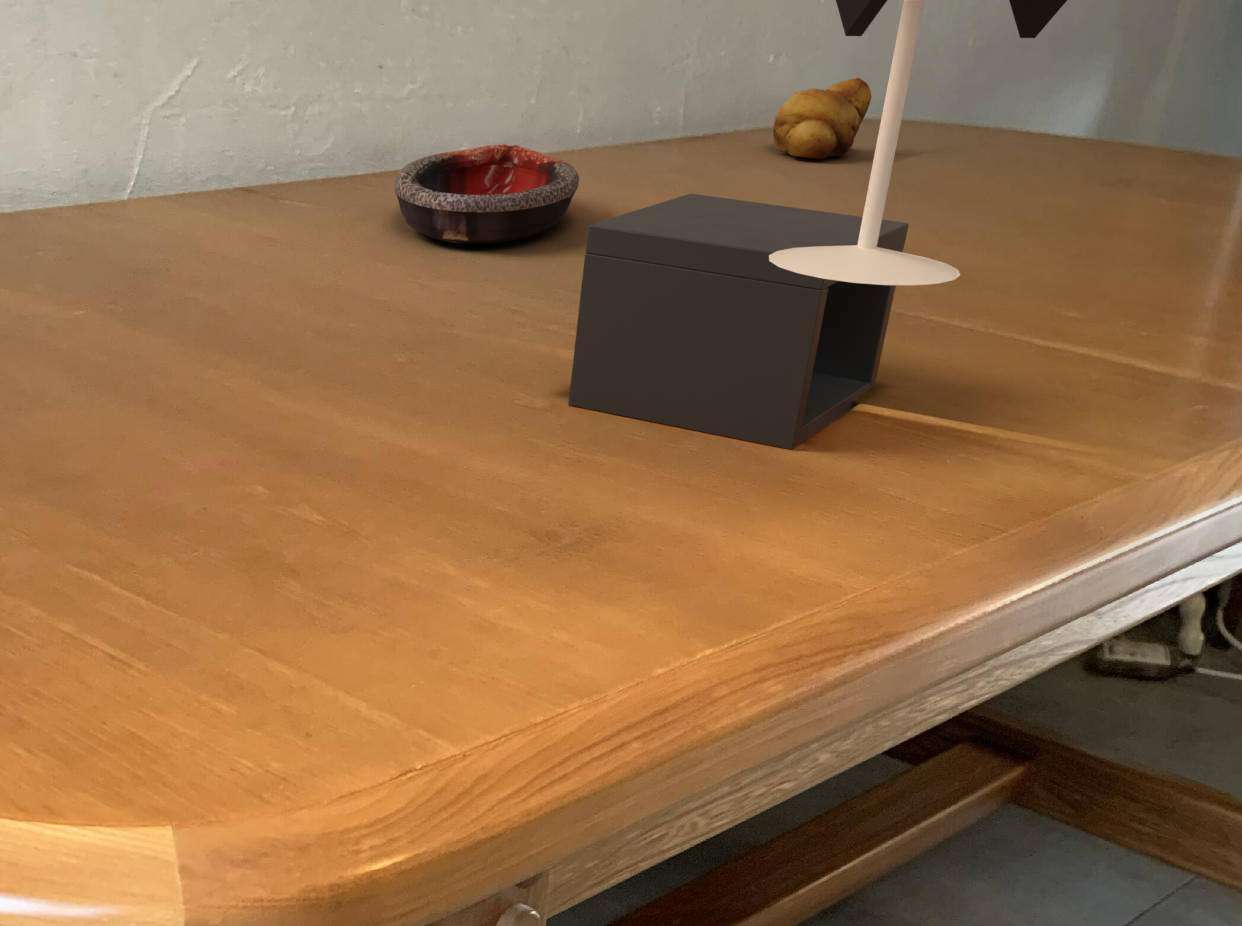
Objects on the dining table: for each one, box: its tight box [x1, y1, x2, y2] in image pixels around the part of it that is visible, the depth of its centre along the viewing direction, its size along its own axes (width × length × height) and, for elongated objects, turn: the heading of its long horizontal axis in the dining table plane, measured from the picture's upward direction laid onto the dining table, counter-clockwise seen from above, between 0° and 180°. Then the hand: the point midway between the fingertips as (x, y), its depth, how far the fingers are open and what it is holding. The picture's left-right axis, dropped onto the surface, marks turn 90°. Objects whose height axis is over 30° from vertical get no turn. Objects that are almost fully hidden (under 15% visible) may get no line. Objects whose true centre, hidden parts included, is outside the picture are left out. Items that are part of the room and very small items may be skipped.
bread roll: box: [772, 76, 872, 160], centre depth 191 cm, size 13×10×8 cm
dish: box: [393, 143, 580, 245], centre depth 148 cm, size 16×31×5 cm, turn 164°
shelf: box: [568, 193, 910, 450], centre depth 100 cm, size 14×15×10 cm
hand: (960, 12), depth 69 cm, fingers closed on wineglass, 8 cm apart
